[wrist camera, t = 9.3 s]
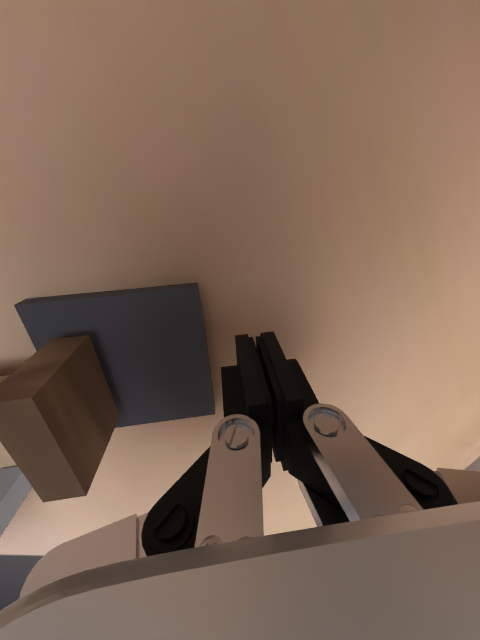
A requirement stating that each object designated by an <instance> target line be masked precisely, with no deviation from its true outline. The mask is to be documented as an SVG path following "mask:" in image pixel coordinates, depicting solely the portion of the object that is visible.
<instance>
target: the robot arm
mask: <svg viewBox="0 0 480 640" xmlns="http://www.w3.org/2000/svg"><path fill="white" fill-rule="evenodd" d="M235 341H236V354H237V365H236V366H227V367H221V377H222V393H223V408H224V418H223V419H222V420H220V421H219V422H218V423H217V425H216V426H215V428H214V431H213V434H212V440H211V446H210V447H209V448H208V449H207V450H206V451H205V452H204V453H203V454H202V455H201V457H200V458H199V459H198V460H197V461H196V462H195V463H194V464H193V465H192V466H191V467H190V468H189V469H188V470H187V471H186V472H185V473H184V474H183V475H182V476H181V478H180V479H179V480H178V481H177V482H176V483H175V484H174V485H173V486H172V487H171V488H170V489H169V490H168V491H167V492H166V493H165V494H164V495H163V496H162V497H161V498H160V500H159V501H158V502H157V503H156V504H155V505H154V506H153V508H152V509H151V510H150V511H149V512H148V513H146V514H144V515H141V516H139V517H138V516H137V514H134V515H132V516H129V517H127V518H124V519H122V520H119V521H117V522H114V523H112V524H110V525H107V526H105V527H102V528H100V529H97V530H95V531H92V532H90V533H87V534H85V535H82V536H80V537H78V538H75V539H73V540H70V541H68V542H65V543H63V544H60V545H59V546H57V547H55V548H54V549H52V550H50V551H49V552H48V553H47V554H46V555H45V556H43V557H42V558H41V559H40V560H39V561H38V562H37V564H36V565H35V567H34V568H33V570H32V571H31V572H30V573H29V575H28V577H27V579H26V581H25V584H24V586H23V588H22V591H21V594H20V597H19V600H17V601H15V602H14V603H12V604H11V605H9V606H7V607H6V608H4V609H3V610H1V611H0V640H480V472H478V471H467V470H456V469H445V468H437V470H436V471H432V470H431V469H429V468H427V467H426V466H424V465H422V464H421V463H419V462H417V461H414V460H412V459H410V458H408V457H406V456H404V455H402V454H400V453H398V452H396V451H394V450H392V449H390V448H388V447H386V446H384V445H382V444H380V443H378V442H376V441H374V440H372V439H370V438H368V437H366V436H363V435H362V433H361V432H360V431H359V430H358V428H357V427H356V426H355V425H354V424H353V422H352V421H351V420H350V419H349V417H348V416H347V415H346V414H345V413H344V412H343V411H342V410H340V409H338V408H337V407H335V406H332V405H329V404H322V403H321V404H319V402H318V400H317V398H316V396H315V394H314V392H313V390H312V388H311V386H310V384H309V383H308V381H307V379H306V377H305V375H304V373H303V371H302V369H301V367H300V365H299V363H298V362H297V360H296V359H289V360H286V358H285V355H284V353H283V351H282V349H281V347H280V345H279V342H278V340H277V338H276V336H275V334H274V332H264V333H261V334H260V336H257V337H256V346H255V342H254V339H253V337H248V334H245V335H235ZM272 449H273V453H274V457H275V460H276V462H279V461H281V464H282V467H283V471H286V470H288V471H289V474H291V475H292V476H294V477H295V478H297V479H298V484H299V487H300V489H301V492H302V494H303V496H304V498H305V500H306V503H307V505H308V507H309V509H310V511H311V514H312V516H313V518H314V520H315V522H316V525H317V527H315V528H309V529H303V530H297V531H291V532H284V533H278V534H272V535H267V536H264V530H263V503H262V488H263V487H264V485H265V484H266V482H267V481H268V479H269V478H270V476H271V463H272Z"/></svg>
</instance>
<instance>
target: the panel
mask: <svg viewBox="0 0 480 640" xmlns="http://www.w3.org/2000/svg"><path fill="white" fill-rule="evenodd" d="M14 306H15V308H16V310H17V312H18V314H19V316H20V318H21V320H22V322H23V324H24V326H25V328H26V330H27V332H28V334H29V336H30V338H31V340H32V342H33V344H34V346H35V348H36V350H37V351H38V350H40V349H41V348H42V347H43V346H44V345H45V344H47V343H48V342H49V341H50V340H51V339H56V338H66V337H75V336H85V335H89V336H90V338H91V341H92V344H93V346H94V349H95V352H96V354H97V357H98V360H99V363H100V365H101V368H102V371H103V373H104V376H105V379H106V381H107V384H108V387H109V389H110V392H111V395H112V397H113V400H114V403H115V405H116V408H117V411H118V413H119V419H118V421H117V424H116V426H115V428H117V427H124V426H131V425H139V424H146V423H153V422H161V421H168V420H176V419H183V418H190V417H198V416H205V415H212V414H215V403H214V395H213V388H212V381H211V374H210V367H209V360H208V353H207V346H206V338H205V331H204V324H203V317H202V310H201V303H200V296H199V289H198V283H192V284H181V285H170V286H159V287H149V288H138V289H127V290H116V291H106V292H95V293H84V294H73V295H63V296H52V297H41V298H30V299H25V300H23V301H21V302H19V303H17V304H15V305H14Z"/></svg>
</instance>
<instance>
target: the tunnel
mask: <svg viewBox="0 0 480 640" xmlns="http://www.w3.org/2000/svg"><path fill="white" fill-rule="evenodd" d="M31 487H32V486H31V484H30V483H29V481H28V480H27V479H26V477H25V476H24V474H23V473H22V471H21V470H20V469H19V467H18V466H16V467H9V468H2V469H1V470H0V537H1V535H2V534H3V532H4V530H5V529H6V527H7V526H8V524H9V522H10V521H11V519H12V518H13V516H14V514H15V513H16V511H17V510H18V508H19V506H20V505H21V503H22V502H23V500H24V498H25V497H26V495H27V494H28V492H29V490H30V489H31Z"/></svg>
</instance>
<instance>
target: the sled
mask: <svg viewBox="0 0 480 640" xmlns="http://www.w3.org/2000/svg"><path fill="white" fill-rule="evenodd" d="M118 419H119V413H118V411H117V408H116V405H115V403H114V400H113V397H112V395H111V392H110V389H109V387H108V384H107V381H106V379H105V376H104V373H103V371H102V368H101V365H100V363H99V360H98V357H97V354H96V352H95V349H94V346H93V344H92V341H91V338H90V336H89V335H85V336H75V337H66V338H56V339H51V340H50V341H49V342H48V343H47V344H45V345H44V346H43V347H42V348H41V349H40V350H38V351H37V352H36V353H35V354H34V355H33V356H31V357H30V358H29V359H28V360H27V361H26V362H24V363H23V364H22V365H21V366H20V367H19V368H17V369H16V370H15V371H14V372H13V373H12V374H10V375H7V376H0V441H1V443H2V444H3V446H4V447H5V449H6V450H7V451H8V453H9V454H10V456H11V457H12V459H13V460H14V461H15V463H16V464H17V466H18V467H19V469H20V470H21V471H22V473H23V474H24V476H25V477H26V479H27V480H28V481H29V483H30V484H31V486H32V487H33V488H34V490H35V491H36V493H37V494H38V496H39V497H40V498H41V500H42V501H43V502H48V501H54V500H61V499H67V498H74V497H80V496H86V495H87V493H88V490H89V488H90V486H91V483H92V481H93V478H94V476H95V474H96V471H97V469H98V466H99V464H100V462H101V459H102V457H103V455H104V452H105V450H106V447H107V445H108V443H109V440H110V438H111V435H112V433H113V431H114V428H115V426H116V424H117V421H118Z"/></svg>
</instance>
